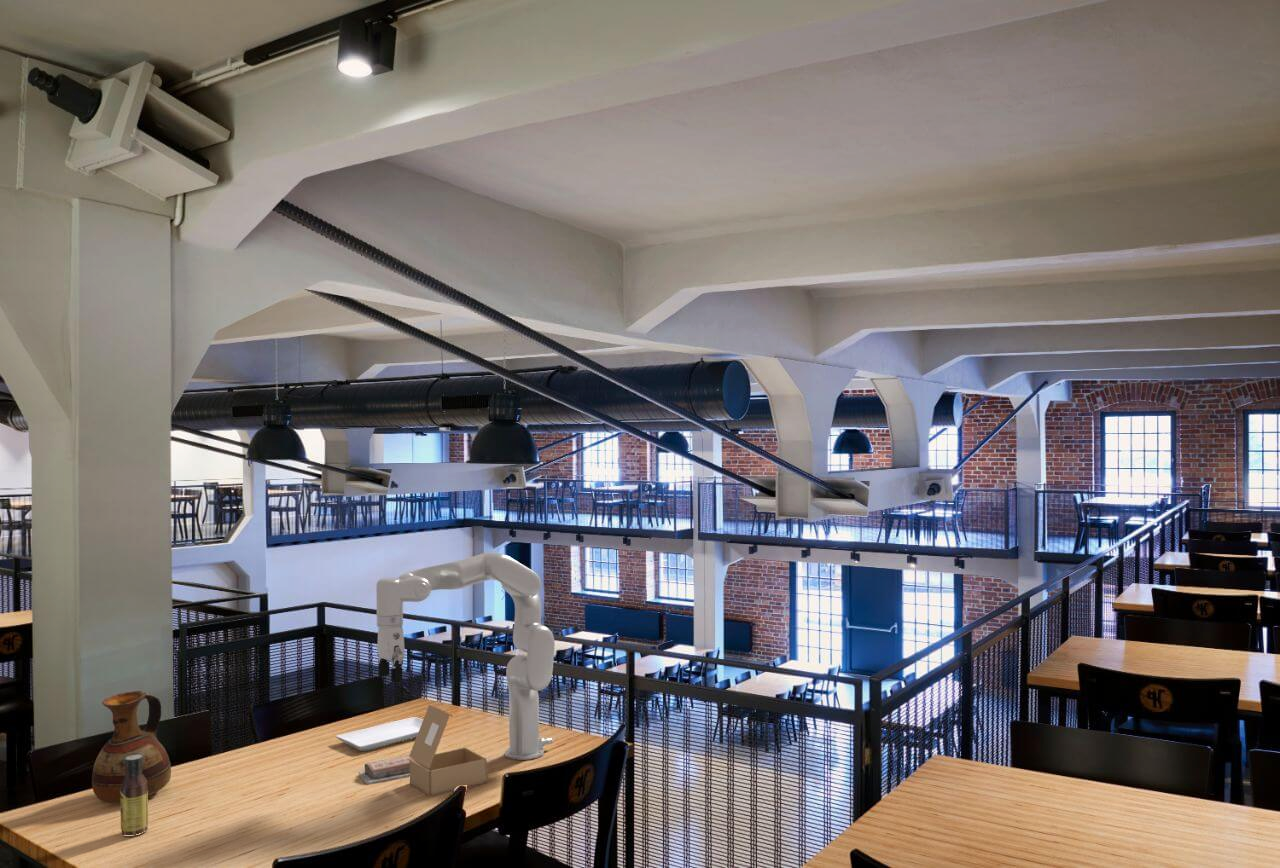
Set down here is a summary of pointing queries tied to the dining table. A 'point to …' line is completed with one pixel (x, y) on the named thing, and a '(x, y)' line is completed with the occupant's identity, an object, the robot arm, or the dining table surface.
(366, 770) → the packaged product
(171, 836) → the dining table surface
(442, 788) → the mailer box
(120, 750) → the ceramic pitcher
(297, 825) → the dining table surface
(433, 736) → the lid
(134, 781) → the sauce bottle
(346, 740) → the tray
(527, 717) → the robot arm
